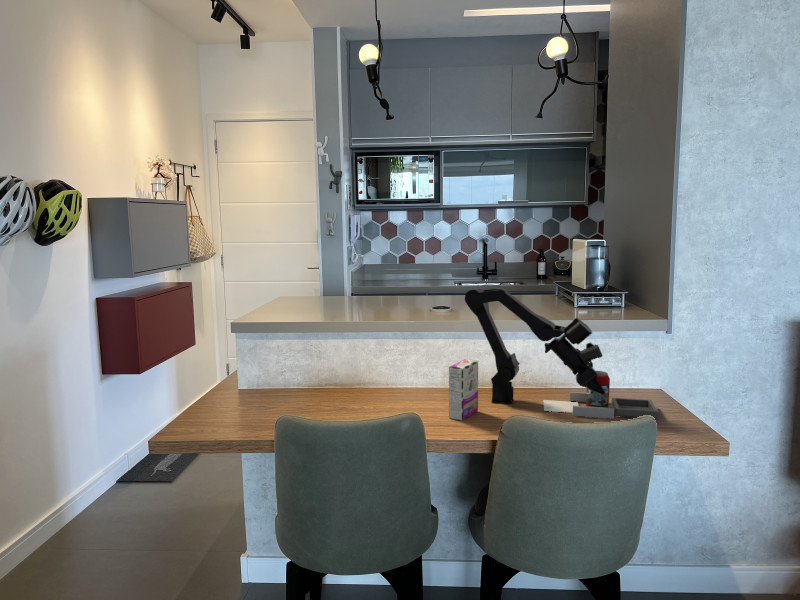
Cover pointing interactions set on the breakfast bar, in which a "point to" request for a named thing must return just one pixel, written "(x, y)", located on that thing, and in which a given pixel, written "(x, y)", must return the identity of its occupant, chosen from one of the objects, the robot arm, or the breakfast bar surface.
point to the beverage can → (596, 398)
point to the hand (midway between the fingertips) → (602, 389)
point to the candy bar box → (463, 389)
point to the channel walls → (589, 411)
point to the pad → (559, 406)
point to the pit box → (633, 407)
